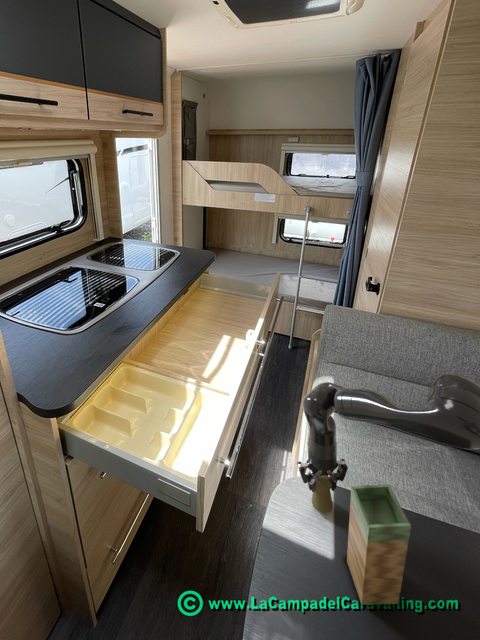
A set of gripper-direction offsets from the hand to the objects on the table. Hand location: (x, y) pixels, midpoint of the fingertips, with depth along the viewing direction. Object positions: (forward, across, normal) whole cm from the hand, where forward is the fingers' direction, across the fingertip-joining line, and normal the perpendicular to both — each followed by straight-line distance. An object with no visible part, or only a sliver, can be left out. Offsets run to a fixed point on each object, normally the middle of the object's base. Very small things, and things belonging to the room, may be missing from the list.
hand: (322, 488), depth 96 cm
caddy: (+9, +6, -18) cm, 21 cm away
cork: (+7, 0, 0) cm, 7 cm away
